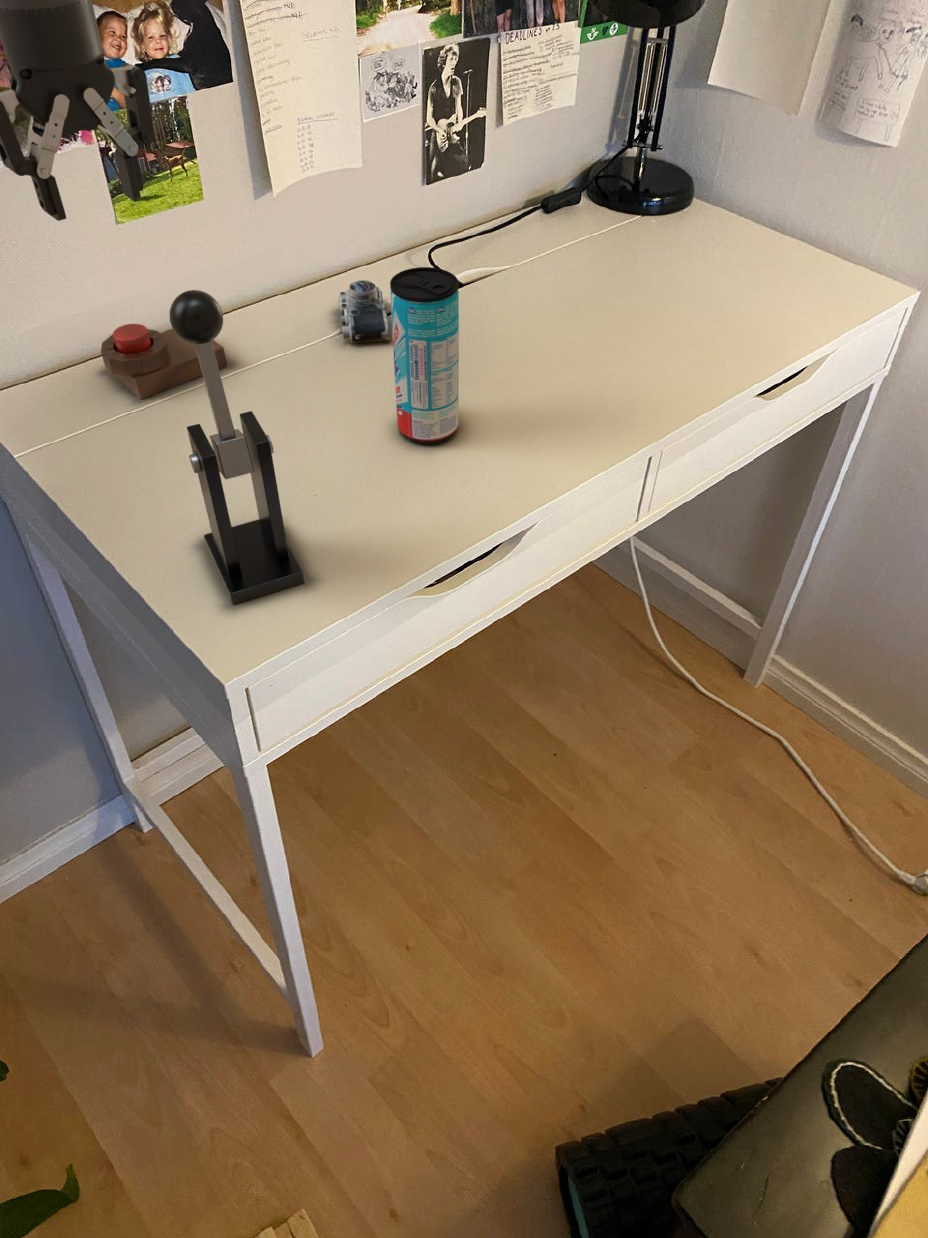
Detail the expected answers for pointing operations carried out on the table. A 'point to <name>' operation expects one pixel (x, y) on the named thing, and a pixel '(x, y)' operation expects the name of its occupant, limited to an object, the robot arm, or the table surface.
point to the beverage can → (426, 353)
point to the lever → (211, 376)
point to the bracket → (254, 549)
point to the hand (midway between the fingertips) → (96, 206)
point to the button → (131, 339)
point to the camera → (363, 313)
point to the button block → (157, 363)
